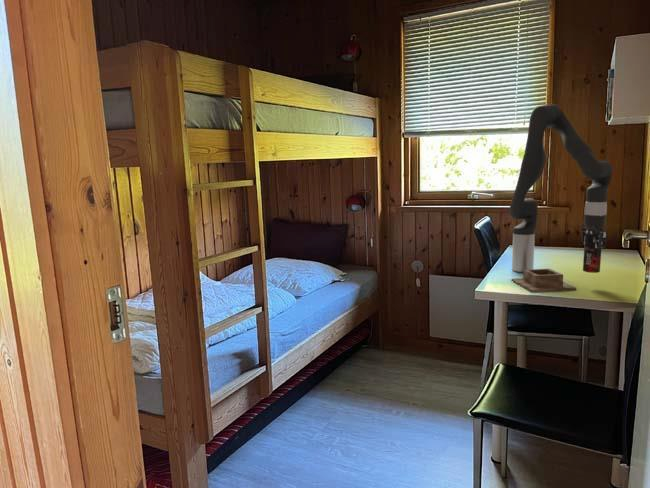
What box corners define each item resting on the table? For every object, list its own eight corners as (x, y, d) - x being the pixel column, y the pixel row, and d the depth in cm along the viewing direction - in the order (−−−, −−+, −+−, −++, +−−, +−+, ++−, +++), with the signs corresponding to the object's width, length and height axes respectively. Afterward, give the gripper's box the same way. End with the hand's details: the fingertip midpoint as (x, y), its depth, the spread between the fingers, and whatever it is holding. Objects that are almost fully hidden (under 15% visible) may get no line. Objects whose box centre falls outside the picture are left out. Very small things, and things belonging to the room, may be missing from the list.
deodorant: (581, 271, 193) (584, 234, 190) (583, 268, 198) (586, 231, 195) (599, 273, 190) (601, 235, 187) (600, 270, 194) (603, 232, 192)
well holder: (511, 281, 209) (511, 268, 208) (552, 279, 210) (553, 266, 209) (531, 292, 191) (531, 278, 190) (576, 290, 192) (576, 276, 191)
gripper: (575, 211, 196) (572, 252, 199) (597, 216, 182) (593, 260, 185) (593, 210, 197) (590, 251, 200) (616, 215, 183) (613, 259, 186)
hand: (592, 255), depth 193 cm, fingers closed on deodorant, 6 cm apart
